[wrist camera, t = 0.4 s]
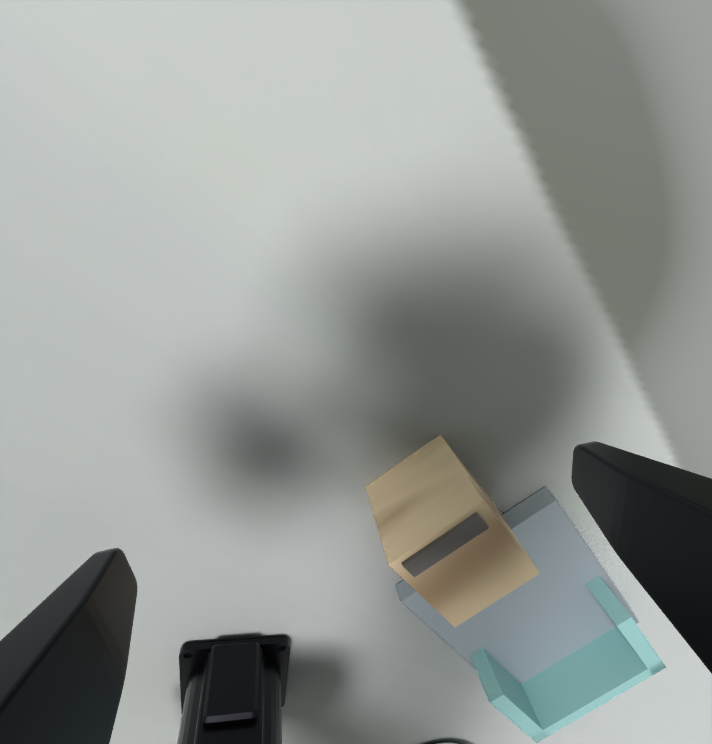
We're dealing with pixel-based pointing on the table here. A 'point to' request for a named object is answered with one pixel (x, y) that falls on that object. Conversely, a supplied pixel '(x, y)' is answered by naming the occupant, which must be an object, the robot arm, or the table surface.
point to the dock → (549, 629)
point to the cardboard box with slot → (446, 533)
